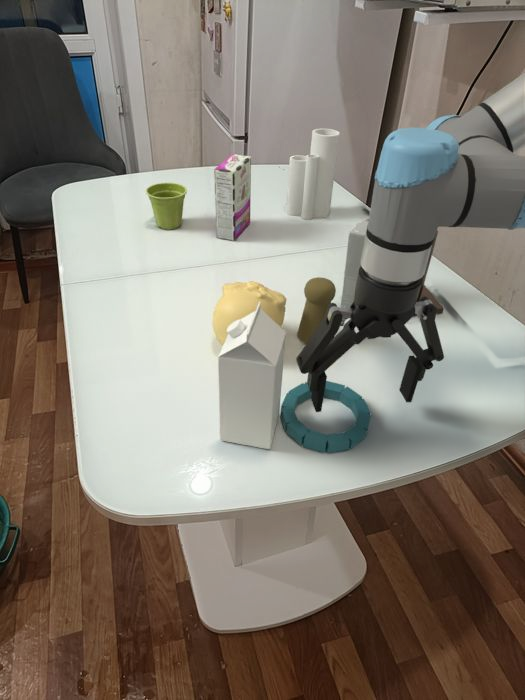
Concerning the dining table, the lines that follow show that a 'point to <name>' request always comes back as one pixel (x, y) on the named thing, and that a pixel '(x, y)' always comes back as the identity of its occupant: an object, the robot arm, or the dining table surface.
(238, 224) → the candy bar box
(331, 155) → the vase
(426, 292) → the post
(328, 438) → the ring
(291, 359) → the dining table surface
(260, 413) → the milk carton
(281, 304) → the sculpture
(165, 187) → the plant pot
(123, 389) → the dining table surface
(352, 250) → the cosmetic box
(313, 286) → the brown pawn
